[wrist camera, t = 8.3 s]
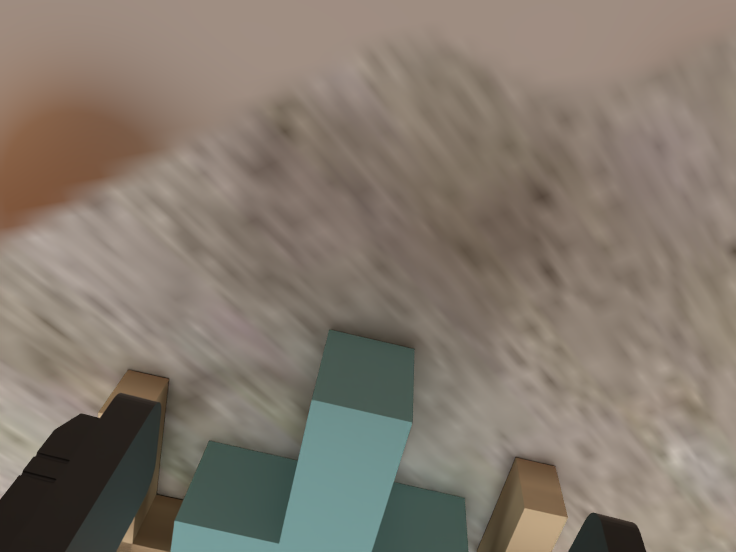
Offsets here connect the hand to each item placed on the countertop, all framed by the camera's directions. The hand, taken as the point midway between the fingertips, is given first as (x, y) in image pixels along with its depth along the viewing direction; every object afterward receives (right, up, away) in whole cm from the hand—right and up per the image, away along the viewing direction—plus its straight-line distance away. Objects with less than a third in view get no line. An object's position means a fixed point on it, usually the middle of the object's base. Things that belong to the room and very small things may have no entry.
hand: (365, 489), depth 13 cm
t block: (-1, -2, +13) cm, 13 cm away
